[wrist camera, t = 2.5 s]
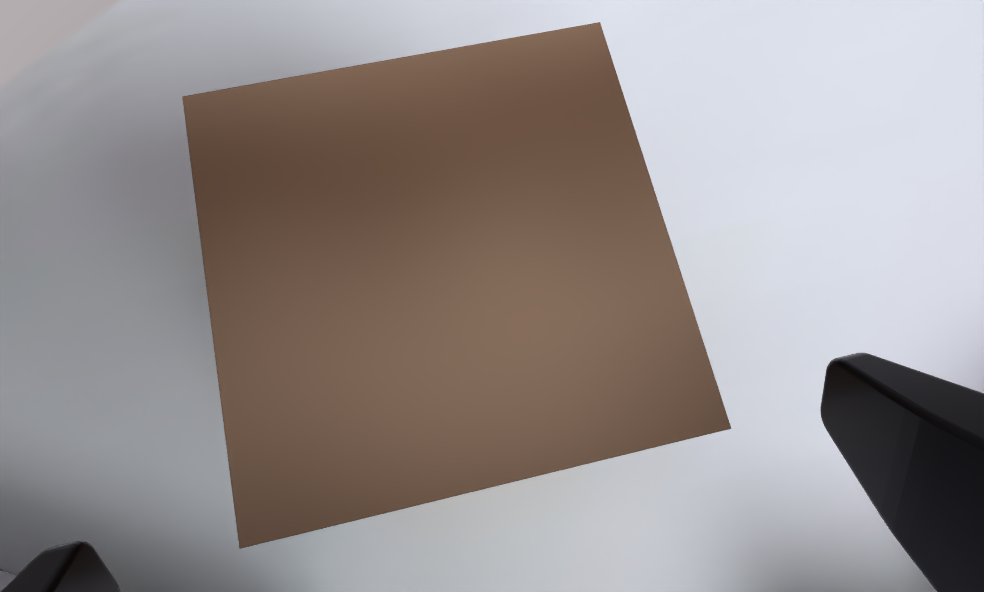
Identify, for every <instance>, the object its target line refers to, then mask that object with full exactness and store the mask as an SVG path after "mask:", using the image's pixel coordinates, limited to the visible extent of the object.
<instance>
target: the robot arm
mask: <svg viewBox="0 0 984 592" xmlns="http://www.w3.org/2000/svg"><path fill="white" fill-rule="evenodd" d="M821 417H822V421H823V424H824V426H825V428H826V430H827V431H828V433H829V435H830V436H831V438H832V439H833V441H834V443H835V444H836V446H837V447H838V449H839V451H840V452H841V454H842V455H843V457H844V458H845V460H846V462H847V463H848V465H849V466H850V468H851V470H852V471H853V473H854V474H855V476H856V478H857V479H858V481H859V482H860V484H861V485H862V487H863V489H864V490H865V492H866V493H867V495H868V497H869V498H870V500H871V501H872V503H873V505H874V506H875V508H876V509H877V511H878V512H879V514H880V516H881V517H882V519H883V520H884V522H885V523H886V525H887V526H888V527H889V529H890V530H891V532H892V533H893V535H894V536H895V537H896V539H897V540H898V541H899V543H900V544H901V545H902V547H903V548H904V549H905V551H906V552H907V553H908V555H909V556H910V557H911V559H912V560H913V561H914V562H915V564H916V565H917V566H918V568H919V569H920V570H921V571H922V573H923V574H924V575H925V577H926V578H927V579H928V580H929V582H930V583H931V584H932V586H933V587H934V588H935V589H936V591H937V592H984V393H981V392H978V391H975V390H972V389H969V388H966V387H963V386H960V385H957V384H955V383H952V382H949V381H946V380H943V379H940V378H937V377H934V376H931V375H928V374H926V373H923V372H920V371H917V370H914V369H911V368H908V367H905V366H902V365H899V364H897V363H894V362H891V361H888V360H885V359H882V358H879V357H876V356H873V355H870V354H867V353H856V354H851V355H847V356H843V357H839V358H835V359H833V360H832V361H831V362H830V363H829V364H828V366H827V369H826V376H825V382H824V389H823V395H822V402H821ZM0 592H120V589H119V586H118V584H117V582H116V581H115V579H114V578H113V576H112V575H111V573H110V572H109V570H108V569H107V567H106V566H105V564H104V563H103V561H102V560H101V558H100V557H99V555H98V554H97V552H96V551H95V549H94V548H93V546H92V545H91V544H89V543H87V542H85V541H76V542H72V543H67V544H63V545H59V546H55V547H51V548H49V549H46V550H44V551H43V552H41V553H40V554H39V555H38V556H37V557H36V558H35V559H34V560H33V561H31V562H30V563H29V564H28V565H27V566H26V567H25V568H24V569H23V570H22V571H21V572H20V573H19V574H18V575H17V576H16V577H15V578H14V579H13V580H12V581H11V582H10V583H9V584H8V585H7V586H6V587H5V588H4V589H3V590H1V591H0Z"/></svg>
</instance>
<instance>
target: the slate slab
mask: <svg viewBox="0 0 984 592" xmlns="http://www.w3.org/2000/svg"><path fill="white" fill-rule="evenodd" d="M16 576H17V575H14V574H11V573H8V572H5V571H2V570H0V591H1V590H3V589H4V588H5V587H6V586H7V585H8V584H9V583H10V582H11V581H12V580H13V579H14V578H15V577H16Z"/></svg>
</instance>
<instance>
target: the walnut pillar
mask: <svg viewBox="0 0 984 592" xmlns="http://www.w3.org/2000/svg"><path fill="white" fill-rule="evenodd" d="M183 105H184V113H185V120H186V128H187V136H188V144H189V152H190V160H191V168H192V176H193V184H194V192H195V200H196V208H197V216H198V223H199V231H200V239H201V247H202V255H203V263H204V271H205V279H206V287H207V295H208V303H209V311H210V318H211V326H212V334H213V342H214V350H215V358H216V366H217V374H218V382H219V390H220V398H221V406H222V414H223V421H224V429H225V437H226V445H227V453H228V461H229V469H230V477H231V485H232V493H233V501H234V509H235V516H236V524H237V532H238V540H239V548H245V547H249V546H253V545H257V544H261V543H265V542H269V541H273V540H277V539H281V538H285V537H289V536H294V535H298V534H302V533H306V532H310V531H314V530H318V529H322V528H326V527H330V526H334V525H339V524H343V523H347V522H351V521H355V520H359V519H363V518H367V517H371V516H375V515H379V514H384V513H388V512H392V511H396V510H400V509H404V508H408V507H412V506H416V505H420V504H424V503H429V502H433V501H437V500H441V499H445V498H449V497H453V496H457V495H461V494H465V493H469V492H474V491H478V490H482V489H486V488H490V487H494V486H498V485H502V484H506V483H510V482H514V481H519V480H523V479H527V478H531V477H535V476H539V475H543V474H547V473H551V472H555V471H559V470H564V469H568V468H572V467H576V466H580V465H584V464H588V463H592V462H596V461H600V460H604V459H609V458H613V457H617V456H621V455H625V454H629V453H633V452H637V451H641V450H645V449H649V448H654V447H658V446H662V445H666V444H670V443H674V442H678V441H682V440H686V439H690V438H694V437H699V436H703V435H707V434H711V433H715V432H719V431H723V430H727V429H731V426H730V423H729V420H728V417H727V414H726V411H725V408H724V405H723V402H722V399H721V395H720V392H719V389H718V386H717V383H716V380H715V377H714V374H713V371H712V368H711V365H710V361H709V358H708V355H707V352H706V349H705V346H704V343H703V340H702V337H701V334H700V331H699V327H698V324H697V321H696V318H695V315H694V312H693V309H692V306H691V303H690V300H689V296H688V293H687V290H686V287H685V284H684V281H683V278H682V275H681V272H680V269H679V266H678V262H677V259H676V256H675V253H674V250H673V247H672V244H671V241H670V238H669V235H668V232H667V228H666V225H665V222H664V219H663V216H662V213H661V210H660V207H659V204H658V201H657V198H656V194H655V191H654V188H653V185H652V182H651V179H650V176H649V173H648V170H647V167H646V164H645V160H644V157H643V154H642V151H641V148H640V145H639V142H638V139H637V136H636V133H635V129H634V126H633V123H632V120H631V117H630V114H629V111H628V108H627V105H626V102H625V99H624V95H623V92H622V89H621V86H620V83H619V80H618V77H617V74H616V71H615V68H614V65H613V61H612V58H611V55H610V52H609V49H608V46H607V43H606V40H605V37H604V34H603V31H602V27H601V24H600V22H599V23H593V24H588V25H582V26H576V27H571V28H565V29H560V30H554V31H548V32H543V33H537V34H532V35H526V36H520V37H515V38H509V39H503V40H498V41H492V42H487V43H481V44H475V45H470V46H464V47H458V48H453V49H447V50H442V51H436V52H430V53H425V54H419V55H413V56H408V57H402V58H397V59H391V60H385V61H380V62H374V63H369V64H363V65H357V66H352V67H346V68H340V69H335V70H329V71H324V72H318V73H312V74H307V75H301V76H295V77H290V78H284V79H279V80H273V81H267V82H262V83H256V84H251V85H245V86H239V87H234V88H228V89H222V90H217V91H211V92H206V93H200V94H194V95H189V96H183Z"/></svg>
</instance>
